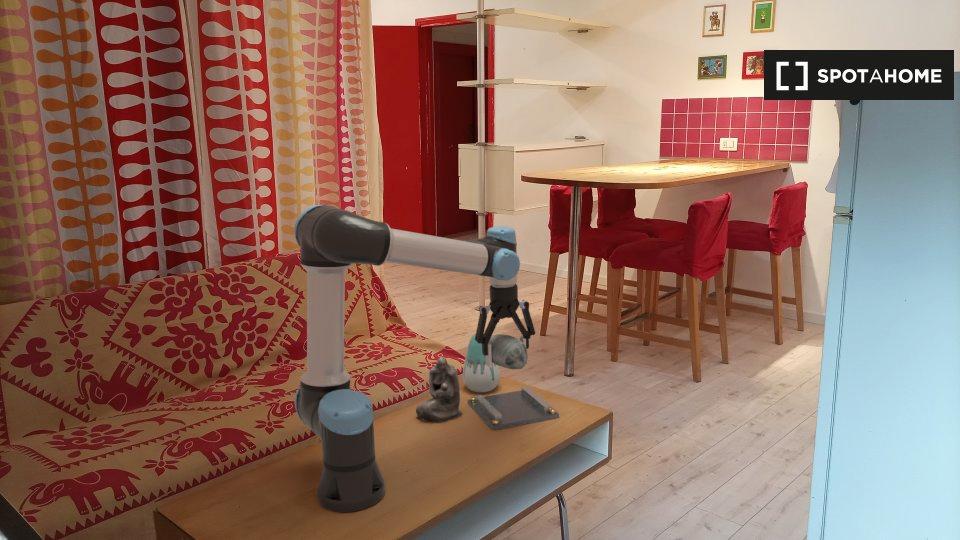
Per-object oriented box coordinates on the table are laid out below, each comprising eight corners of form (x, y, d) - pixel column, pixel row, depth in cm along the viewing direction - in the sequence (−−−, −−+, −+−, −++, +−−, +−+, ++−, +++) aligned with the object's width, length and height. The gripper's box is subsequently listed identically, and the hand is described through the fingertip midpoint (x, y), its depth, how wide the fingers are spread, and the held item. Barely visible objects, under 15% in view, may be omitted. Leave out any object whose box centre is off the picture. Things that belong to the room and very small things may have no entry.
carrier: (492, 430, 196) (492, 420, 195) (467, 403, 214) (467, 394, 213) (559, 417, 203) (559, 407, 202) (529, 392, 221) (529, 383, 220)
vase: (484, 379, 233) (482, 325, 229) (508, 388, 224) (507, 333, 220) (455, 388, 226) (453, 333, 222) (479, 399, 217) (478, 342, 213)
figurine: (416, 424, 201) (413, 363, 197) (415, 407, 212) (413, 349, 208) (463, 421, 202) (461, 360, 198) (460, 405, 213) (458, 347, 209)
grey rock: (540, 356, 195) (520, 327, 193) (516, 379, 191) (495, 349, 189) (516, 354, 207) (497, 326, 205) (492, 375, 204) (473, 347, 201)
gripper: (468, 292, 187) (472, 374, 192) (546, 282, 194) (548, 361, 199) (459, 286, 194) (463, 364, 199) (535, 276, 201) (537, 352, 206)
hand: (506, 362), depth 199 cm, fingers closed on grey rock, 9 cm apart
